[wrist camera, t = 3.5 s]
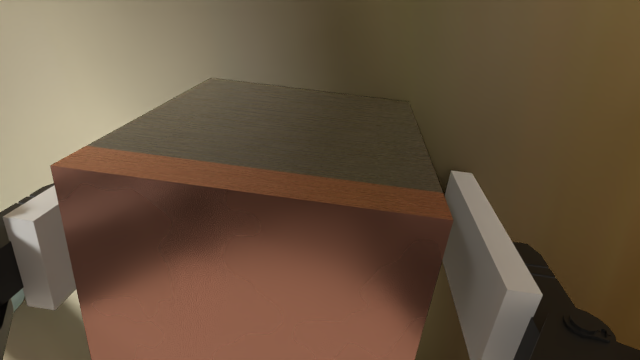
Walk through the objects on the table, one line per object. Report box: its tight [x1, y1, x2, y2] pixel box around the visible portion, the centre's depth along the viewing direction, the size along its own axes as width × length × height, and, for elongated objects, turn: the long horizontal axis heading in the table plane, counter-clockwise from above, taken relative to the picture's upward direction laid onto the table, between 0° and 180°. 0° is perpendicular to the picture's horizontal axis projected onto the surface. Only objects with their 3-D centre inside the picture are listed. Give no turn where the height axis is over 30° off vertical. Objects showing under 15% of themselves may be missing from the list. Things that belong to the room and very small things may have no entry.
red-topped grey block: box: [50, 78, 453, 360], centre depth 12 cm, size 7×7×8 cm
